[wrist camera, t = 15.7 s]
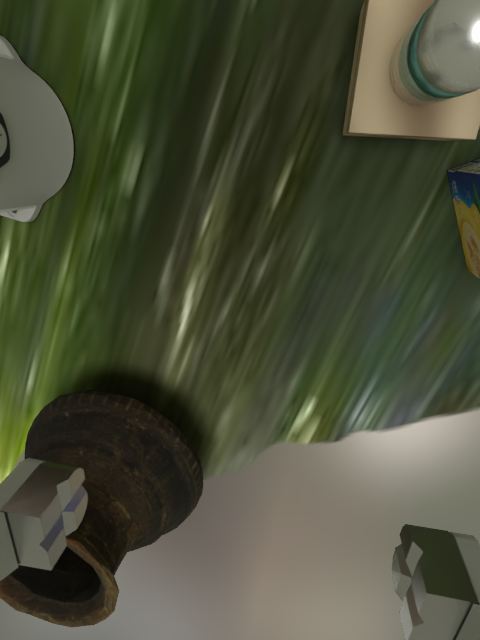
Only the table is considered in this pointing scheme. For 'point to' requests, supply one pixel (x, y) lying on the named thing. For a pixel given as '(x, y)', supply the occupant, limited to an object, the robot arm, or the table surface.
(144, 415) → the ceramic pot
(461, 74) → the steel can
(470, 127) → the oak block
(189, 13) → the table surface
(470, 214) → the beverage box
